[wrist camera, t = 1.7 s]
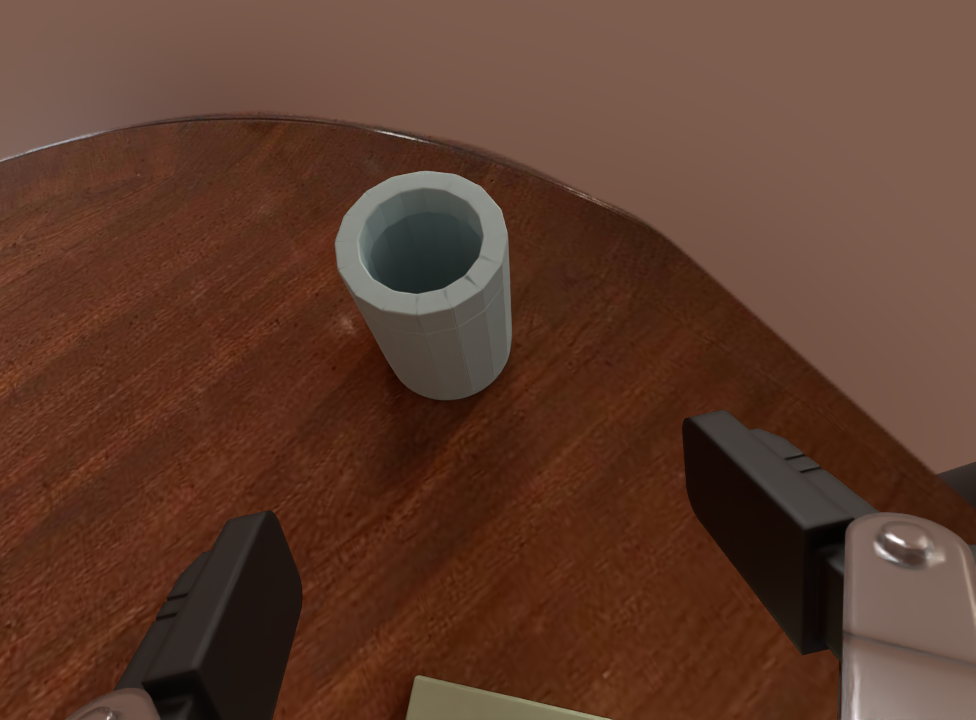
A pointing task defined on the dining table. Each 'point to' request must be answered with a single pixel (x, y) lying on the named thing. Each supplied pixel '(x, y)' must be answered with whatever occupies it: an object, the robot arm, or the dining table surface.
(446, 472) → the dining table surface
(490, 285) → the cylindrical container
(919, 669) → the robot arm
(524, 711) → the mat
